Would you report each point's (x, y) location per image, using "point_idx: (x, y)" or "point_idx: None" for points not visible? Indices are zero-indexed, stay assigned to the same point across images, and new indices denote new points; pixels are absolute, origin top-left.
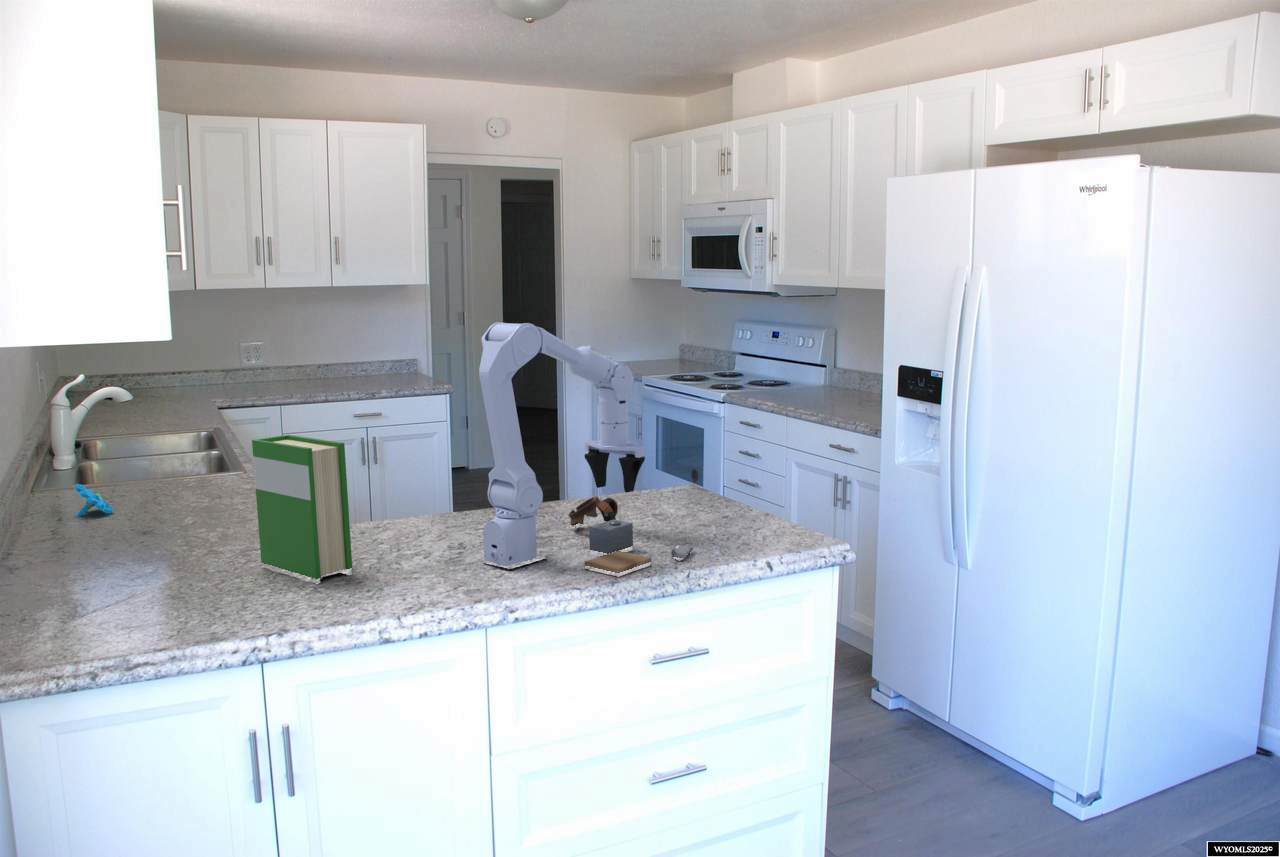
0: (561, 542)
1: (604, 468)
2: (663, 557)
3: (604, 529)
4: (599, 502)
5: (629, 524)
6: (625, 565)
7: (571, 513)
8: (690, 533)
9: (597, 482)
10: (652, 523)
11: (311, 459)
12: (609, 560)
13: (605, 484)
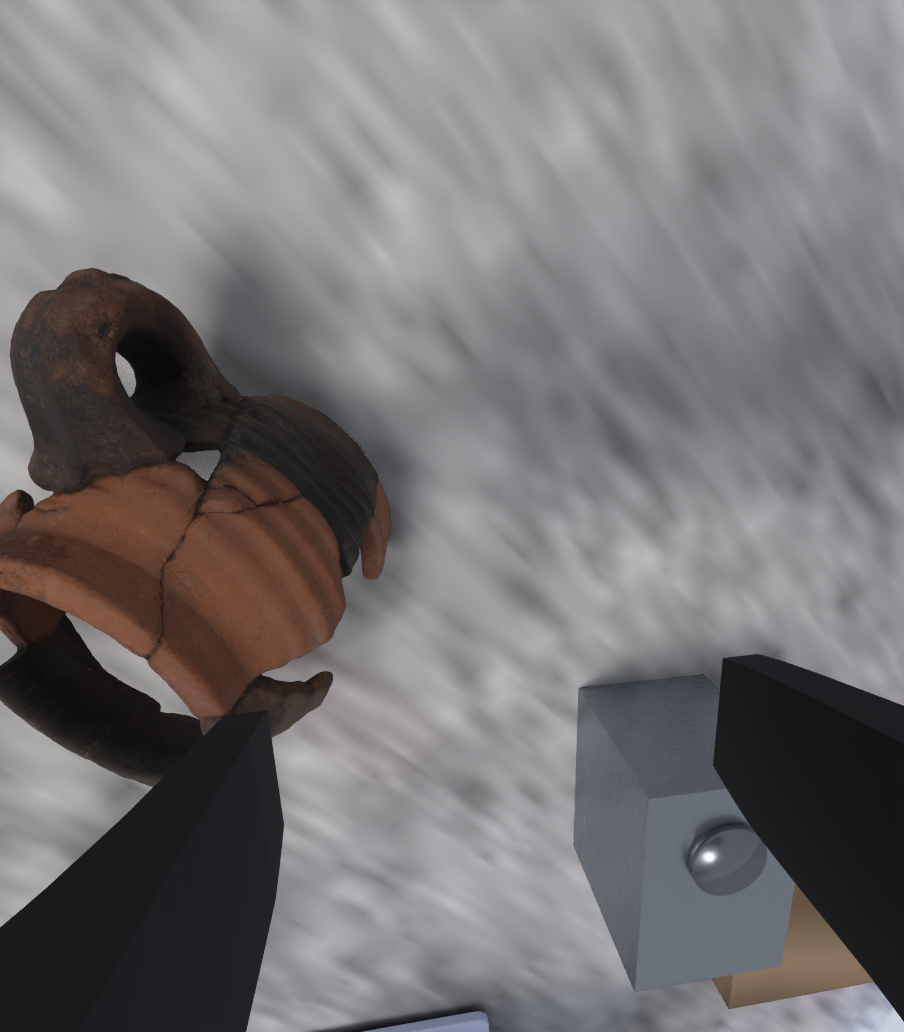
0: (289, 821)
1: (166, 976)
2: (889, 659)
3: (754, 968)
4: (225, 631)
5: None
6: None
7: (106, 767)
8: (780, 162)
9: (267, 908)
10: (373, 78)
11: None
12: (807, 937)
13: (261, 723)
